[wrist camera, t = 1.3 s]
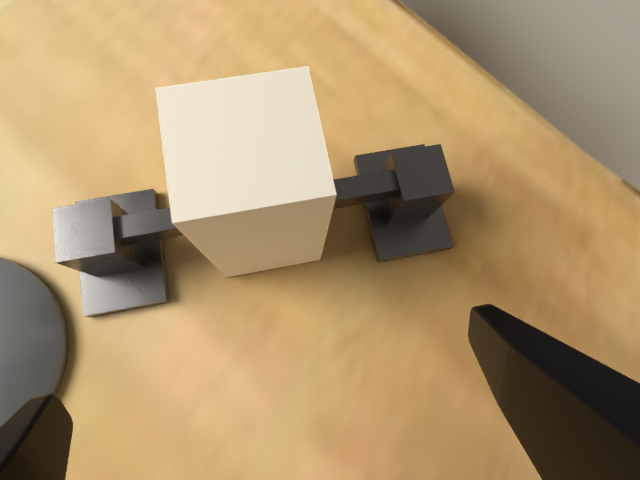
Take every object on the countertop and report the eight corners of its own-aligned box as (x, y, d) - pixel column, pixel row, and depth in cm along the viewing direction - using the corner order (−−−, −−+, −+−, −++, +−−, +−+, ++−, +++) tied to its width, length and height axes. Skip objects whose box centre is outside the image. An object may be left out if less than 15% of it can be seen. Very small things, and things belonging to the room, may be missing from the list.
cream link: (320, 259, 23) (336, 194, 13) (226, 277, 22) (171, 223, 13) (304, 180, 24) (307, 66, 14) (214, 195, 23) (155, 87, 14)
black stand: (448, 248, 23) (482, 226, 19) (88, 317, 22) (37, 309, 17) (421, 149, 25) (446, 107, 20) (80, 205, 23) (31, 172, 19)
